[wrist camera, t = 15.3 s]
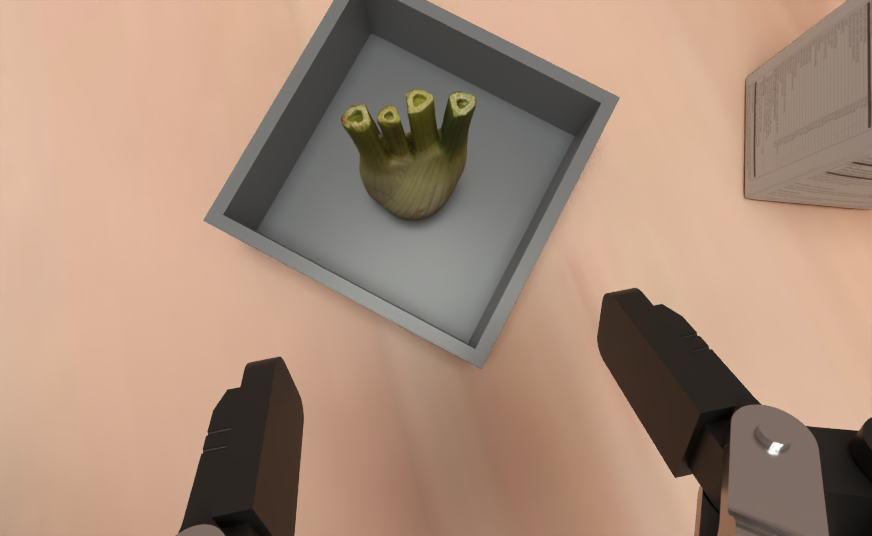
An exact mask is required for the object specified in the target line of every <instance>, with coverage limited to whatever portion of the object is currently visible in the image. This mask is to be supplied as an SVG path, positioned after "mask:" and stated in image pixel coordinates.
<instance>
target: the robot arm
mask: <svg viewBox="0 0 872 536" xmlns="http://www.w3.org/2000/svg"><path fill="white" fill-rule="evenodd" d="M597 341H598V347H599V351H600V354H601V356H602V359H603V361H604V362H605V364H606V366H607V367H608V369H609V370H610V372H611V374H612V375H613V377H614V379H615V380H616V382H617V384H618V385H619V387H620V388H621V390H622V392H623V393H624V395H625V397H626V398H627V400H628V402H629V403H630V405H631V407H632V408H633V410H634V411H635V413H636V415H637V416H638V418H639V420H640V421H641V423H642V425H643V426H644V428H645V429H646V431H647V433H648V434H649V436H650V438H651V439H652V441H653V443H654V444H655V446H656V447H657V449H658V451H659V452H660V454H661V456H662V457H663V459H664V461H665V462H666V464H667V466H668V467H669V469H670V470H671V472H672V474H673V475H674V477H675V478H677V477H681V476H685V475H690V474H693V475H694V476H695V478H696V479H697V481H698V482H699V484H700V487H699V491H698V498H697V510H696V521H695V533H694V536H872V418H870V419H868V420H867V421H866V422H865V423H864V425H863V426H862V427H861V429H860V430H859V431H854V430H842V429H830V428H819V427H810V426H805V425H804V424H803V423H802V422H800V421H799V420H798V419H796V418H795V417H793V416H792V415H790V414H788V413H786V412H784V411H782V410H780V409H777V408H774V407H770V406H766V405H761V404H760V403H759V402H758V401H757V400H756V399H755V398H754V397H753V395H752V394H751V393H750V392H749V391H748V390H747V389H746V388H745V386H744V385H743V384H742V383H741V382H740V381H739V380H738V379H737V377H736V376H735V375H734V374H733V373H732V372H731V371H730V370H729V368H728V367H727V366H726V365H725V364H724V363H723V362H722V360H721V359H720V358H719V357H718V356H717V355H716V354H715V353H714V351H713V350H712V349H711V350H710V349H709V346H708V345H707V344H706V342H705V341H704V340H703V339H702V338H701V337H700V336H697V332H696V331H695V330H694V329H693V328H692V327H691V326H690V324H689V323H688V322H687V321H686V320H685V319H684V318H683V317H682V316H681V315H679V314H678V313H676V312H674V311H673V310H671V309H669V308H668V307H666V306H664V305H663V304H660V305H655V306H653V305H652V303H651V302H650V301H649V300H648V299H647V297H646V296H645V295H644V294H643V293H642V292H641V291H640V290H639V289H637V288H632V289H627V290H622V291H617V292H612V293H607V294H605V295H604V297H603V301H602V307H601V314H600V321H599V328H598V336H597ZM303 423H304V414H303V405H302V401H301V397H300V395H299V392H298V390H297V388H296V386H295V384H294V382H293V379H292V377H291V375H290V373H289V371H288V369H287V366H286V364H285V362H284V360H283V359H282V358H281V357H276V358H271V359H265V360H260V361H255V362H250V363H248V364H247V365H246V367H245V370H244V374H243V378H242V383H241V387H239V388H234V389H229V390H227V391H226V393H225V394H224V396H223V397H222V399H221V400H220V401H219V403H218V404H217V406H216V407H215V409H214V410H213V414H212V417H211V421H210V425H209V428H208V436H206V439H205V443H204V447H203V454H201V458H200V461H199V465H198V469H197V472H196V476H195V479H194V483H193V487H192V490H191V494H190V498H189V501H188V505H187V509H186V512H185V516H184V520H183V523H182V526H181V528H180V531H179V533H178V534H177V535H176V536H294V533H295V520H296V508H297V496H298V484H299V472H300V459H301V447H302V435H303Z"/></svg>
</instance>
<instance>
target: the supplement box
mask: <svg viewBox="0 0 872 536" xmlns="http://www.w3.org/2000/svg"><path fill="white" fill-rule="evenodd" d="M745 197H746V198H748V199H757V200H768V201H778V202H790V203H801V204H812V205H823V206H833V207H844V208H855V209H866V210H870V209H872V0H847V1H846V2H845V3H843V4H842V5H841V6H840V7H838V8H837V9H835V10H834V11H833V12H831V13H830V14H829V15H827V16H826V17H825V18H823V19H822V20H821V21H819V22H818V23H817V24H816V25H814V26H813V27H812V28H810V29H809V30H808V31H806V32H805V33H804V34H802V35H801V36H800V37H799V38H797V39H796V40H795V41H793V42H792V43H791V44H789V45H788V46H787V47H786V48H784V49H783V50H782V51H780V52H779V53H778V54H776V55H775V56H774V57H772V58H771V59H770V60H769V61H767V62H766V63H764V64H763V65H762V66H761V67H759V68H758V69H757V70H755V71H754V72H753V73H752V74H750V75H749V76H748V77H747V78H746V138H745Z"/></svg>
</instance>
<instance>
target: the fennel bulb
mask: <svg viewBox="0 0 872 536" xmlns="http://www.w3.org/2000/svg"><path fill="white" fill-rule="evenodd" d="M405 96H406V103H407V113H408V119H409V124H410V130H411V131H410V132H408V133H405V132H404V129H403V126H402V123H401V119H400V116H399V114H398V111H397V109H396V108H395V107H394V106H393V105H387V106H386V107H384V108H382V109H381V110H380V111H379V113H378V116H377V124H378V125H379V127H380V129H381V132H382V133H381V132H380V131H379V129H378V127H377V125H376V123H375V122H374V120H373V118H372V117H371V114H370V113H369V111H368V109H367V107H366V105H365V104H359V105H357V106H355V105H352V106H350V108H349V109H347V110H346V112H345V113H344V114H343V115H342V117H341V122H342V125H343V127H344V129H345V130H346V131H347V133H348V134H349V135H350V137H351V139H352V140H353V142H354V144H355V146H356V148H357V149H358V152H359V154H360V159H359V160H360V162H359V170H360V176H361V179H362V182H363V185H364V187H365V189H366V191H367V193H368V195H369V196H370V197H371V198H373V199H374V200H375V201H376V202H378V203H379V204H381V205H382V206H383V207H384V208H385V209H386V210H387V211H388V212H390V213H391V214H392V215H394V216H396V217H399V218H401V219H408V220H417V219H422V218H426V217H428V216H430V215H432V214H434V213H436V212H437V211H438V210H439V209H441V208H442V206H443V205H444V204H445V203H446V201H447V200H448V199H449V197H450V196H451V194H452V192H453V191H454V189H455V187H456V185H457V183H458V181H459V179H460V177H461V175H462V173H463V170H464V168H465V164H466V160H467V142H468V131H469V127H470V123H471V119H472V116H473V113H474V111H475V108H476V103H477V102H476V98H475V97H474V96H473V95H471V94H466V93H463V92H462V91H457V92H453V93H451V94H450V95H449V97H448V101H447V105H446V109H445V113H444V116H443V117H444V118H443V123H442V126H441V128H439V129H437V123H436V115H435V104H434V97H433V95H432V94H430V93H428V92H426V91H424V90H420V89H413V90H411V91H408V92H406V94H405Z"/></svg>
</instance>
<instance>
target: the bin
mask: <svg viewBox="0 0 872 536" xmlns="http://www.w3.org/2000/svg"><path fill="white" fill-rule="evenodd" d="M413 89H420V90H424V91H426V92H428V93H430V94H432V95H433V97H434V104H435V115H436V123H437V129H439V128H441V126H442V123H443V118H444V117H443V116H444V113H445V109H446V105H447V101H448V97H449V95H450V94H451V93H453V92H457V91H462V92H463V93H466V94H471V95H473V96H474V97H475V98H476V102H477V103H476V108H475V111H474V113H473V116H472V119H471V123H470V127H469V131H468V142H467V160H466V164H465V168H464V170H463V173H462V175H461V177H460V179H459V181H458V183H457V185H456V187H455V189H454V191H453V192H452V194H451V196H450V197H449V199H448V200H447V201H446V203H445V204H444V205H443V206H442V208H441V209H439V210H438V211H437V212H436V213H434V214H432V215H430V216H428V217H426V218H422V219H417V220H408V219H401V218H399V217H396V216H394V215H392V214H391V213H390V212H388V211H387V210H386V209H385V208H384V207H383V206H382V205H381V204H379V203H378V202H376V201H375V200H374V199H373V198H371V197H370V196H369V195H368V193H367V191H366V189H365V187H364V185H363V182H362V179H361V176H360V170H359V162H360V160H359V159H360V154H359V152H358V149H357V148H356V146H355V144H354V142H353V140H352V139H351V137H350V135H349V134H348V133H347V131H346V130H345V129H344V127H343V125H342V122H341V117H342V115H343V114H344V113H345V112H346V110H347V109H349V108H350V106H352V105H355V106H357V105H359V104H365V105H366V107H367V109H368V111H369V113H370V114H371V117H372V118H373V120H374V122H375V123H376V125H377V127H378V129H379V131H380V132H381V129H380V127H379V125H378V124H377V116H378V113H379V111H380V110H381V109H382V108H384V107H386V106H387V105H393V106H394V107H395V108H396V109H397V111H398V114H399V116H400V119H401V123H402V126H403V129H404V132H405V133H408V132H410V131H411V130H410V124H409V119H408V113H407V103H406V96H405V94H406V92H408V91H411V90H413ZM619 98H620V97H618V96H616V95H614V94H612V93H610V92H608V91H606V90H604V89H602V88H600V87H598V86H596V85H594V84H592V83H590V82H588V81H586V80H584V79H582V78H580V77H578V76H576V75H574V74H572V73H570V72H568V71H566V70H564V69H562V68H560V67H558V66H556V65H554V64H552V63H550V62H548V61H546V60H544V59H542V58H540V57H538V56H536V55H534V54H532V53H530V52H528V51H526V50H524V49H522V48H520V47H518V46H516V45H514V44H512V43H510V42H508V41H506V40H504V39H502V38H500V37H498V36H496V35H494V34H492V33H490V32H488V31H486V30H484V29H482V28H480V27H478V26H476V25H474V24H472V23H470V22H468V21H466V20H464V19H462V18H460V17H458V16H456V15H454V14H452V13H450V12H448V11H446V10H444V9H442V8H440V7H438V6H436V5H434V4H432V3H430V2H428V1H426V0H334V1H333V3H332V4H331V6H330V8H329V9H328V11H327V13H326V14H325V16H324V18H323V19H322V21H321V23H320V24H319V26H318V28H317V30H316V31H315V33H314V35H313V36H312V38H311V40H310V41H309V43H308V45H307V46H306V48H305V50H304V51H303V53H302V55H301V57H300V58H299V60H298V62H297V63H296V65H295V67H294V68H293V70H292V72H291V73H290V75H289V77H288V78H287V80H286V82H285V84H284V85H283V87H282V89H281V90H280V92H279V94H278V95H277V97H276V99H275V100H274V102H273V104H272V105H271V107H270V109H269V111H268V112H267V114H266V116H265V117H264V119H263V121H262V122H261V124H260V126H259V127H258V129H257V131H256V132H255V134H254V136H253V138H252V139H251V141H250V143H249V144H248V146H247V148H246V149H245V151H244V153H243V154H242V156H241V158H240V159H239V161H238V163H237V164H236V166H235V168H234V170H233V171H232V173H231V175H230V176H229V178H228V180H227V181H226V183H225V185H224V186H223V188H222V190H221V191H220V193H219V195H218V197H217V198H216V200H215V202H214V203H213V205H212V207H211V208H210V210H209V212H208V213H207V215H206V217H205V218H204V220H203V221H205V222H207V223H209V224H211V225H213V226H214V227H216V228H218V229H220V230H222V231H224V232H226V233H228V234H229V235H231V236H233V237H235V238H237V239H239V240H241V241H242V242H244V243H246V244H248V245H250V246H252V247H254V248H256V249H257V250H259V251H261V252H263V253H265V254H267V255H269V256H271V257H272V258H274V259H276V260H278V261H280V262H282V263H284V264H286V265H287V266H289V267H291V268H293V269H295V270H297V271H299V272H300V273H302V274H304V275H306V276H308V277H310V278H312V279H314V280H315V281H317V282H319V283H321V284H323V285H325V286H327V287H329V288H330V289H332V290H334V291H336V292H338V293H340V294H342V295H344V296H345V297H347V298H349V299H351V300H353V301H355V302H357V303H358V304H360V305H362V306H364V307H366V308H368V309H370V310H372V311H373V312H375V313H377V314H379V315H381V316H383V317H385V318H387V319H388V320H390V321H392V322H394V323H396V324H398V325H400V326H402V327H403V328H405V329H407V330H409V331H411V332H413V333H415V334H416V335H418V336H420V337H422V338H424V339H426V340H428V341H430V342H431V343H433V344H435V345H437V346H439V347H441V348H443V349H445V350H446V351H448V352H450V353H452V354H454V355H456V356H458V357H460V358H461V359H463V360H465V361H467V362H469V363H471V364H473V365H474V366H476V367H478V368H480V369H482V367H483V365H484V363H485V361H486V359H487V357H488V355H489V354H490V352H491V350H492V348H493V346H494V344H495V342H496V340H497V338H498V336H499V334H500V332H501V330H502V328H503V326H504V324H505V322H506V320H507V318H508V316H509V314H510V312H511V310H512V308H513V306H514V304H515V302H516V300H517V299H518V297H519V295H520V293H521V291H522V289H523V287H524V285H525V283H526V281H527V279H528V277H529V275H530V273H531V271H532V269H533V267H534V265H535V263H536V261H537V259H538V257H539V255H540V253H541V251H542V249H543V247H544V246H545V244H546V242H547V240H548V238H549V236H550V234H551V232H552V230H553V228H554V226H555V224H556V222H557V220H558V218H559V216H560V214H561V212H562V210H563V208H564V206H565V204H566V202H567V200H568V198H569V196H570V194H571V192H572V191H573V189H574V187H575V185H576V183H577V181H578V179H579V177H580V175H581V173H582V171H583V169H584V167H585V165H586V163H587V161H588V159H589V157H590V155H591V153H592V151H593V149H594V147H595V145H596V143H597V141H598V139H599V137H600V136H601V134H602V132H603V130H604V128H605V126H606V124H607V122H608V120H609V118H610V116H611V114H612V112H613V110H614V108H615V106H616V104H617V102H618V100H619ZM381 133H382V132H381Z"/></svg>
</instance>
